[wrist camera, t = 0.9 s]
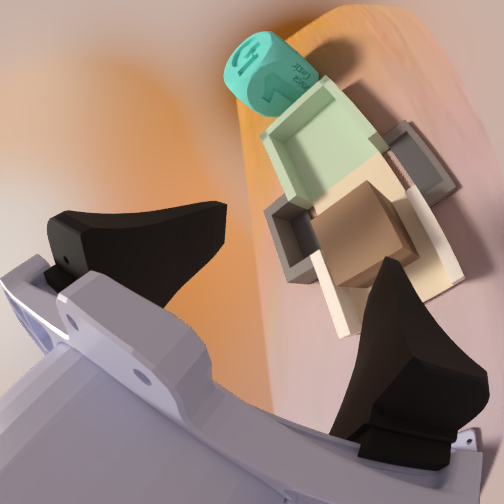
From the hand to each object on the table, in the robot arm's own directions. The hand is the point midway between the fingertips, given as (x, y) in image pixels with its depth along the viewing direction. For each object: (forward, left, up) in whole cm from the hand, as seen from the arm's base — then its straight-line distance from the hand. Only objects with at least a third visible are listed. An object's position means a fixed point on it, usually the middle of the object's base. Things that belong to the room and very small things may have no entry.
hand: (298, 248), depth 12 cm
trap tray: (+7, 0, -12) cm, 14 cm away
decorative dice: (+25, -1, -12) cm, 28 cm away
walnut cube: (+2, 0, -11) cm, 12 cm away
